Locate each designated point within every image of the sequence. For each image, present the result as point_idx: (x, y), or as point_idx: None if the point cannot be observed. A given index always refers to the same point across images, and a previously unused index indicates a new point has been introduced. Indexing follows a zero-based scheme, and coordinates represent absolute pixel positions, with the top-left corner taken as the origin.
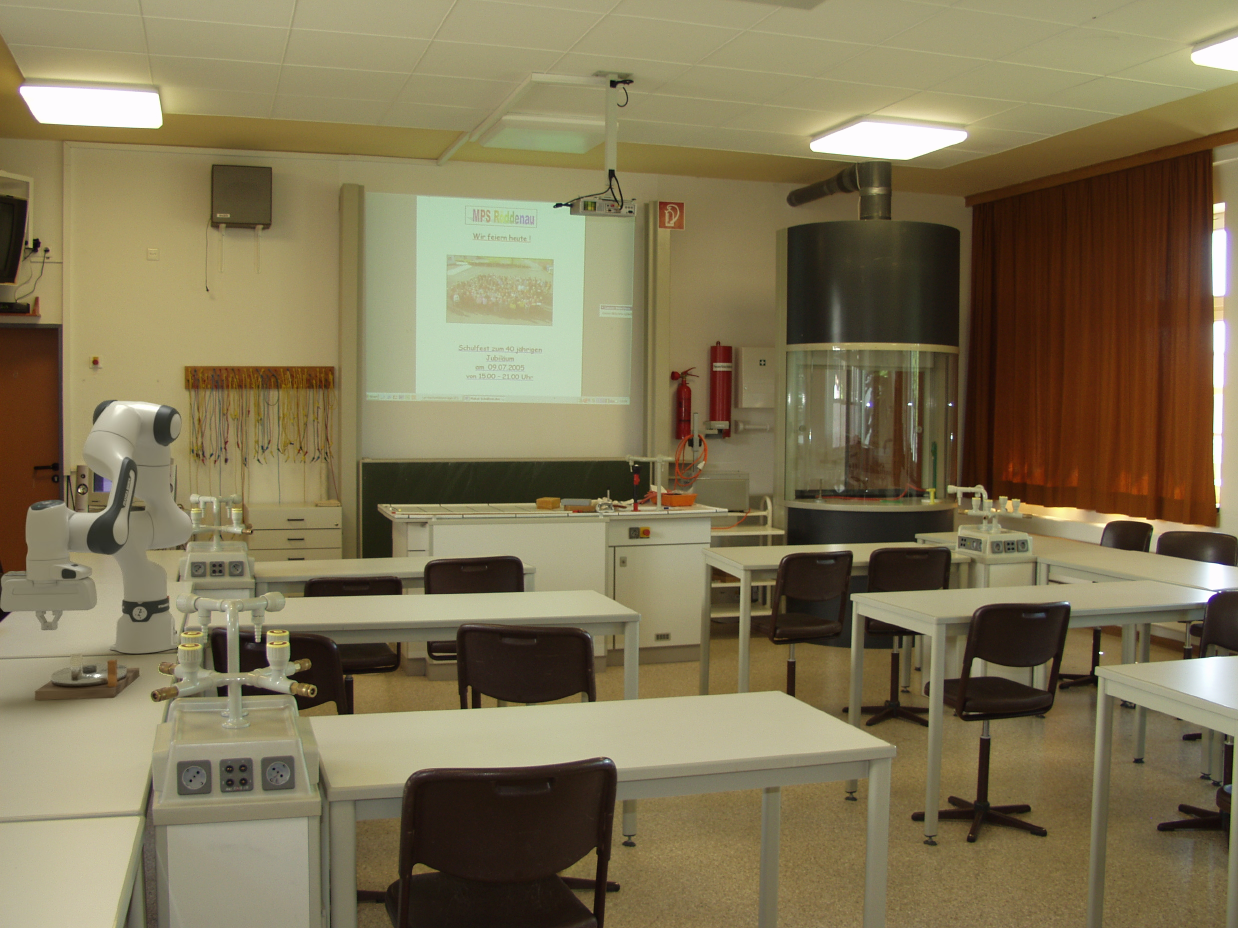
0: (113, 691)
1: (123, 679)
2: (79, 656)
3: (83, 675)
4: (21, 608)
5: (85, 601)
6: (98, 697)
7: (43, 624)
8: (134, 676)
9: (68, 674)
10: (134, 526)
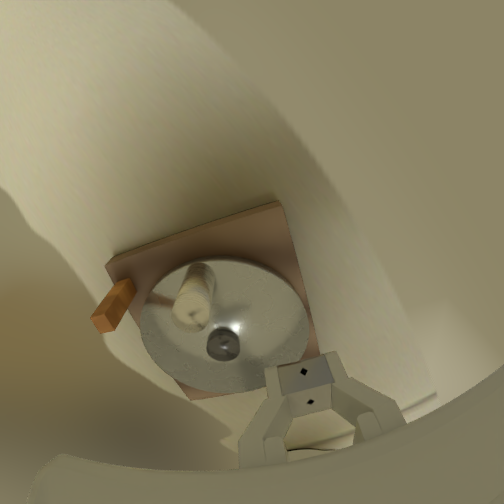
0: (108, 262)
1: None
2: (172, 309)
3: (210, 309)
4: (493, 390)
5: (48, 492)
6: (140, 247)
7: (331, 375)
8: None
9: (257, 311)
10: None
